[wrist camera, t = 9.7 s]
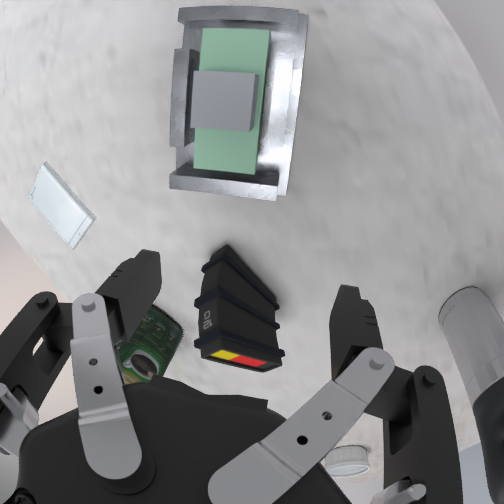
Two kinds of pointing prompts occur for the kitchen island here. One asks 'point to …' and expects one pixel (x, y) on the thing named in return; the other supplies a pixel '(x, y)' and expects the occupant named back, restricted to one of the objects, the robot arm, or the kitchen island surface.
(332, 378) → the robot arm
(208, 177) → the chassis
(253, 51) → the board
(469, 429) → the kitchen island surface
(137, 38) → the kitchen island surface
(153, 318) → the coffee jar
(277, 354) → the magazine
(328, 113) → the kitchen island surface
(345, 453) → the ramekin
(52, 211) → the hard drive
